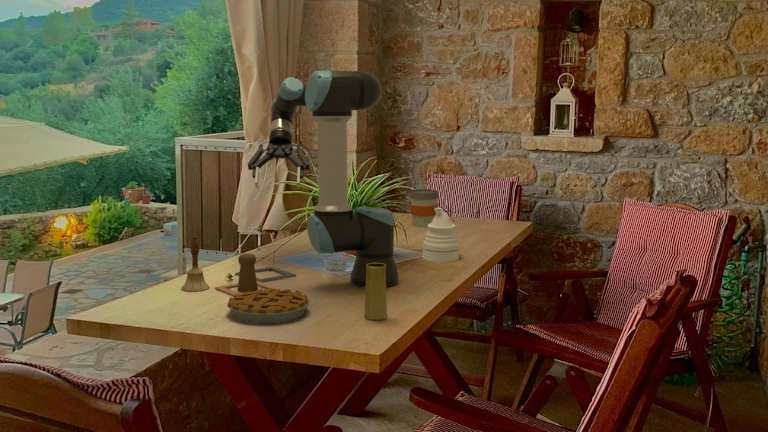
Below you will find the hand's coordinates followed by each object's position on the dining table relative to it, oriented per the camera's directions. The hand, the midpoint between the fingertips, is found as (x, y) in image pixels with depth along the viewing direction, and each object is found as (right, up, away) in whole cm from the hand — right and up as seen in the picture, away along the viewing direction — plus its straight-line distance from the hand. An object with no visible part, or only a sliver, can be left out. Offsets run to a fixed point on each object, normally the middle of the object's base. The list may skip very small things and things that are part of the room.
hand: (277, 185), depth 261 cm
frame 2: (-3, -29, -4) cm, 29 cm away
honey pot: (+55, -25, +25) cm, 65 cm away
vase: (+32, -37, -47) cm, 68 cm away
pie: (+4, -37, -45) cm, 58 cm away
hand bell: (-22, -32, -20) cm, 44 cm away
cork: (-6, -32, -22) cm, 39 cm away
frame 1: (-6, -32, -22) cm, 39 cm away
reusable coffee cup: (+52, -14, +88) cm, 103 cm away
